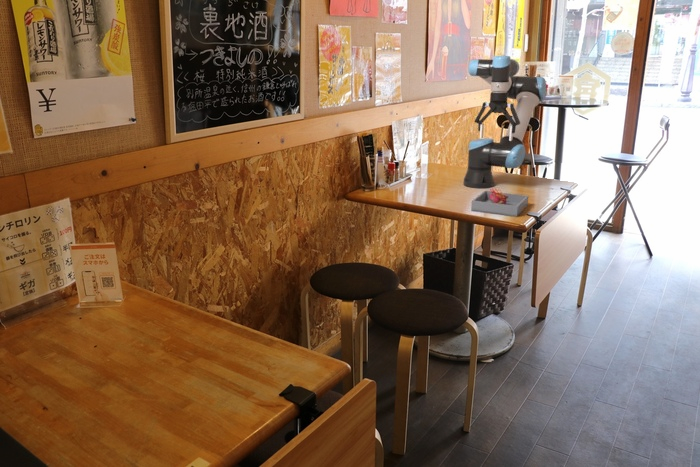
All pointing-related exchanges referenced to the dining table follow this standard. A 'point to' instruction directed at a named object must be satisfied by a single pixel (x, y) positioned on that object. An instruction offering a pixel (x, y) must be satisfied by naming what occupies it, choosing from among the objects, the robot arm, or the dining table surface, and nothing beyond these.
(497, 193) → the flower
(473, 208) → the bin
